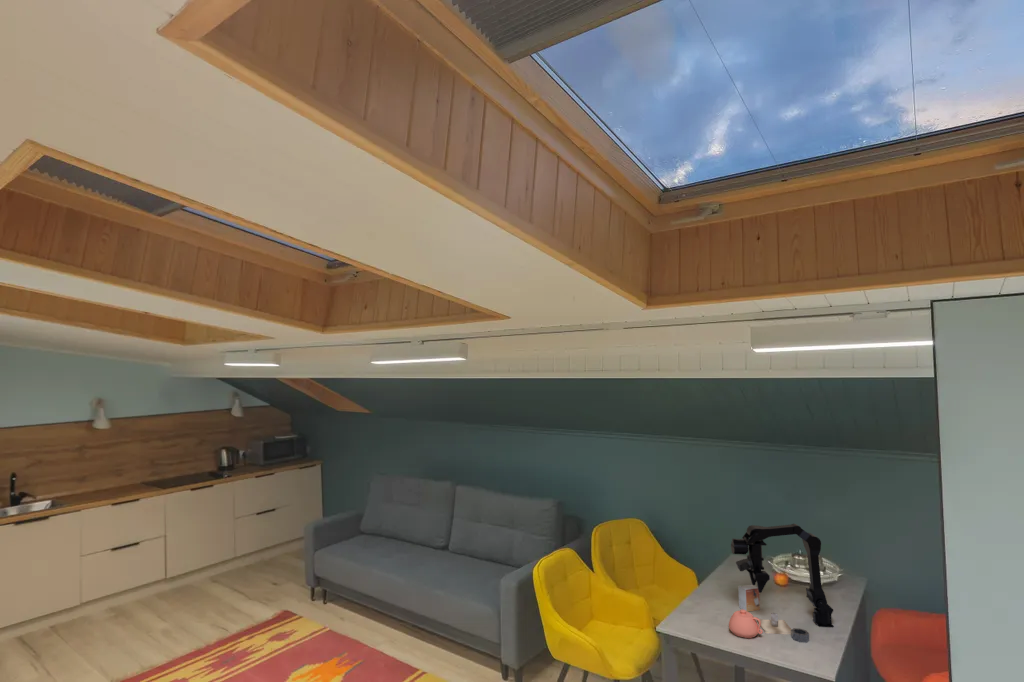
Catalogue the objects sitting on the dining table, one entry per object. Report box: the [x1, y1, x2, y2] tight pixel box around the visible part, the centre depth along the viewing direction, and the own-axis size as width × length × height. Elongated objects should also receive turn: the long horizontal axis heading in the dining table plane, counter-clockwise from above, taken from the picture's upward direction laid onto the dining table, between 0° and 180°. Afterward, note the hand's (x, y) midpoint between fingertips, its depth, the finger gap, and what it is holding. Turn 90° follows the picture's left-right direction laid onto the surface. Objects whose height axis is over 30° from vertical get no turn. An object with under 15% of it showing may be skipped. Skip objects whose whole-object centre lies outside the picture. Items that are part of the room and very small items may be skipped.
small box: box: [737, 583, 761, 612], centre depth 269 cm, size 8×6×10 cm
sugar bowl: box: [728, 608, 764, 640], centre depth 242 cm, size 12×14×10 cm
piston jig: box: [756, 612, 793, 635], centre depth 248 cm, size 12×12×6 cm
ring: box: [790, 627, 810, 644], centre depth 237 cm, size 6×6×3 cm
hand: (756, 588), depth 255 cm, fingers open, 9 cm apart
